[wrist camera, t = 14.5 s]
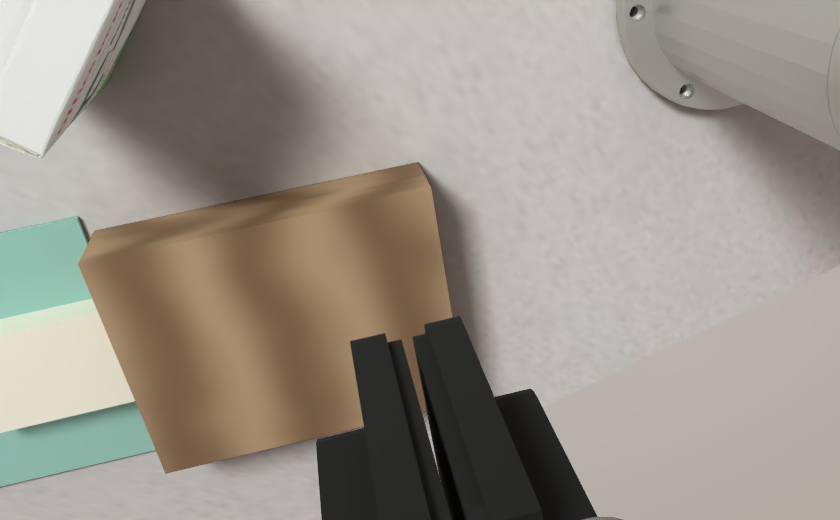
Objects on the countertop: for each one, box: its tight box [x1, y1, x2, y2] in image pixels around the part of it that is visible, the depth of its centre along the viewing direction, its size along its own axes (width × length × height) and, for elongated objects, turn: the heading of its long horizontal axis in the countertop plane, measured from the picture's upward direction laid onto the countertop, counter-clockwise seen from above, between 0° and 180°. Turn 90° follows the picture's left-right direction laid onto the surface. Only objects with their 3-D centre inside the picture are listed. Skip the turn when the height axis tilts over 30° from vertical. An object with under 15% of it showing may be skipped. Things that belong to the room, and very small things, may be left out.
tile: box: [0, 299, 135, 433], centre depth 43 cm, size 9×6×2 cm, turn 99°
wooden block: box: [78, 162, 453, 473], centre depth 44 cm, size 18×14×4 cm
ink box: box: [0, 0, 146, 158], centre depth 31 cm, size 9×5×12 cm, turn 148°
